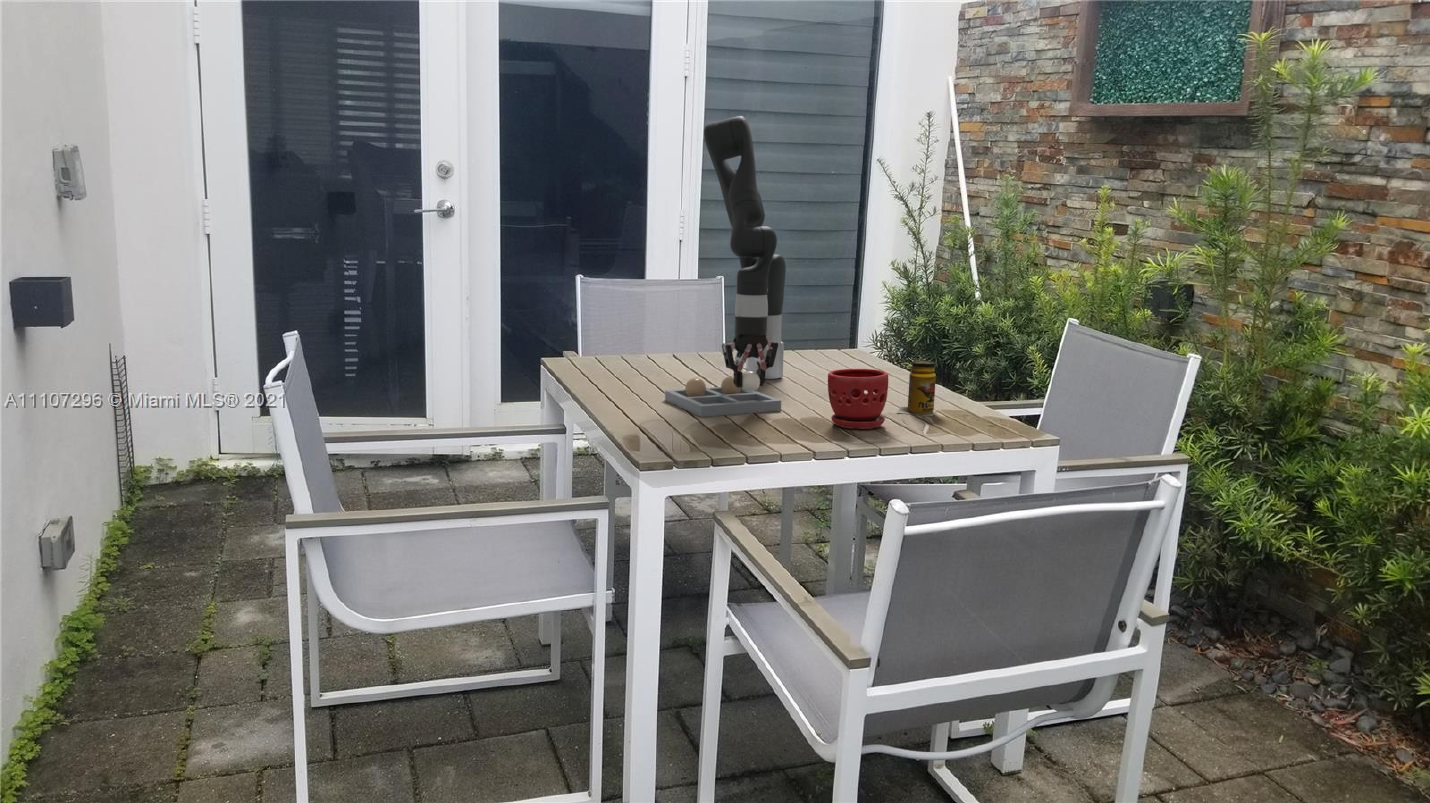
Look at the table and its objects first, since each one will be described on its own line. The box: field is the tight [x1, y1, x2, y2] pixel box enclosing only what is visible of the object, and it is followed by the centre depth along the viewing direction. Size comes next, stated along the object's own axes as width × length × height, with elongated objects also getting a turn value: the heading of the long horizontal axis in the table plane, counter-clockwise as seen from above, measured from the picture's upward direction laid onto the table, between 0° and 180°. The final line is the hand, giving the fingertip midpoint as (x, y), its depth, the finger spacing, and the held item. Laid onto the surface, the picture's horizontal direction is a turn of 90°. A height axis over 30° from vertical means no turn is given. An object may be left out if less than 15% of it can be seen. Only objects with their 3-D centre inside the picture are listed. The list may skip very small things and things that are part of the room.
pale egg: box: [741, 370, 760, 392], centre depth 260 cm, size 5×5×5 cm
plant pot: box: [827, 368, 889, 430], centre depth 244 cm, size 13×13×12 cm
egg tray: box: [664, 386, 782, 418], centre depth 263 cm, size 20×20×2 cm
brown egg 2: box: [720, 375, 741, 395], centre depth 269 cm, size 5×5×5 cm
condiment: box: [896, 359, 937, 417], centre depth 260 cm, size 7×8×12 cm
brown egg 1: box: [684, 377, 707, 397], centre depth 265 cm, size 5×5×5 cm
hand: (749, 386), depth 261 cm, fingers closed on pale egg, 5 cm apart
